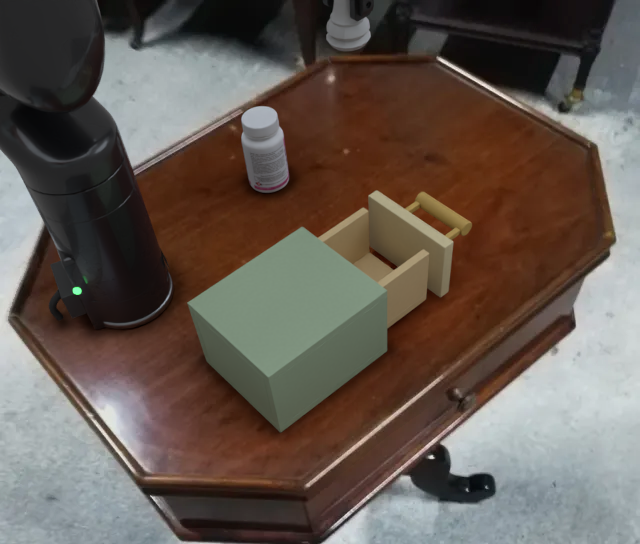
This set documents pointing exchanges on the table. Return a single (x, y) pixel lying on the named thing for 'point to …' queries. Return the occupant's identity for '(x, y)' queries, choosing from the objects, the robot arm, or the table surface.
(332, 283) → the cabinet
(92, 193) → the robot arm
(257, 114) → the pill bottle
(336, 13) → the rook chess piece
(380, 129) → the table surface
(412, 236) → the drawer
